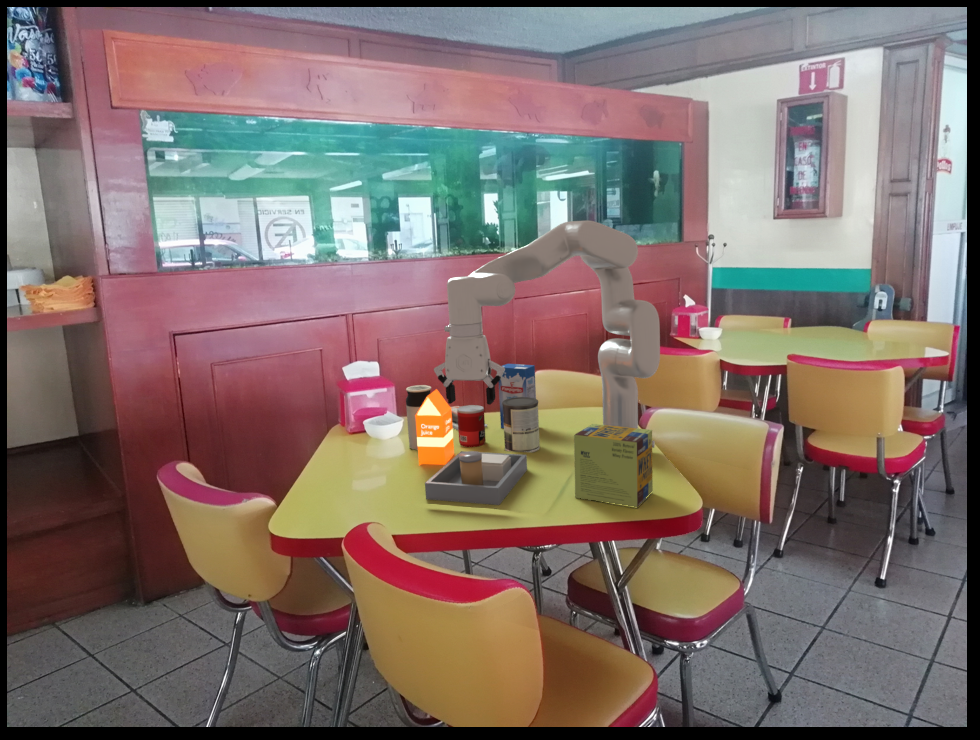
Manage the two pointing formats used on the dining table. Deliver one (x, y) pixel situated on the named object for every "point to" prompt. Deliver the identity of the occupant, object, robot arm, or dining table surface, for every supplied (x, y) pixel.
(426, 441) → the orange juice
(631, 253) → the robot arm
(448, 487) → the tray
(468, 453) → the amber jar
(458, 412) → the canned food
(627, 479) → the protein box
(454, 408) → the packaged product
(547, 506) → the dining table surface
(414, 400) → the travel mug
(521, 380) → the milk carton
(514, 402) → the coffee can
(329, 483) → the dining table surface
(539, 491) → the dining table surface
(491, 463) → the egg box
